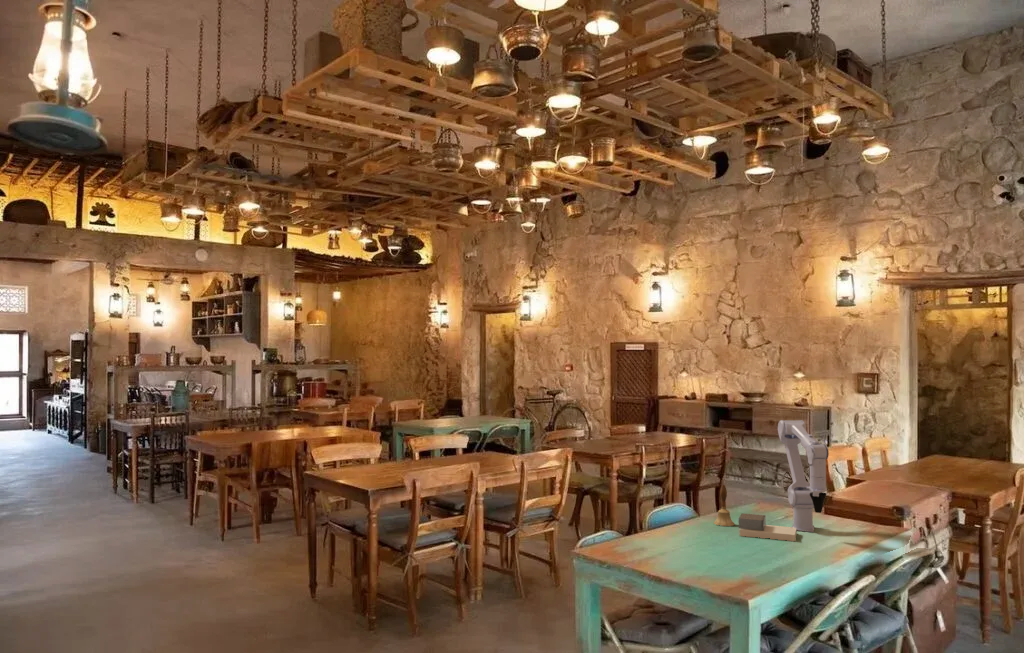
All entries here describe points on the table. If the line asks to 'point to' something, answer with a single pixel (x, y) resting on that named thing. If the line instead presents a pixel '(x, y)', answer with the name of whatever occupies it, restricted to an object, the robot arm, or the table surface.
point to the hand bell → (724, 511)
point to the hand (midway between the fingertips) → (818, 512)
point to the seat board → (771, 532)
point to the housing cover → (752, 521)
